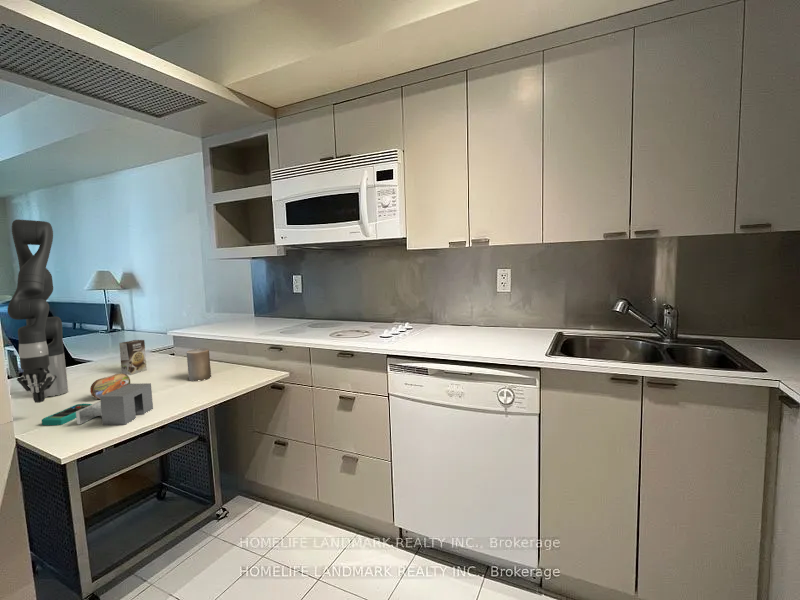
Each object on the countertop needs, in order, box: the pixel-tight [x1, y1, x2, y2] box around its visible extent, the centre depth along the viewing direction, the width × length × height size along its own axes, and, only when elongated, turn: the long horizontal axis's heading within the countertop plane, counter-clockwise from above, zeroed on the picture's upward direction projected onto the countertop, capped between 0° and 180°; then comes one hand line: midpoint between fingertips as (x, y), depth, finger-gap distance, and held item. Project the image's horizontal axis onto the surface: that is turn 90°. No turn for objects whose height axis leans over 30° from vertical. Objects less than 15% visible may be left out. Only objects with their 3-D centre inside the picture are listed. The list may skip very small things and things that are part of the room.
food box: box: [119, 339, 148, 375], centre depth 196 cm, size 9×6×16 cm
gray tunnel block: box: [99, 382, 154, 426], centre depth 137 cm, size 8×14×10 cm, turn 178°
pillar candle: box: [185, 347, 212, 382], centre depth 183 cm, size 10×10×15 cm
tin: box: [89, 373, 131, 400], centre depth 161 cm, size 15×3×8 cm, turn 162°
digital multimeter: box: [41, 403, 92, 426], centre depth 139 cm, size 7×15×3 cm, turn 178°
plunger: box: [76, 400, 102, 425], centre depth 141 cm, size 13×21×4 cm, turn 178°
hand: (39, 401), depth 138 cm, fingers closed
